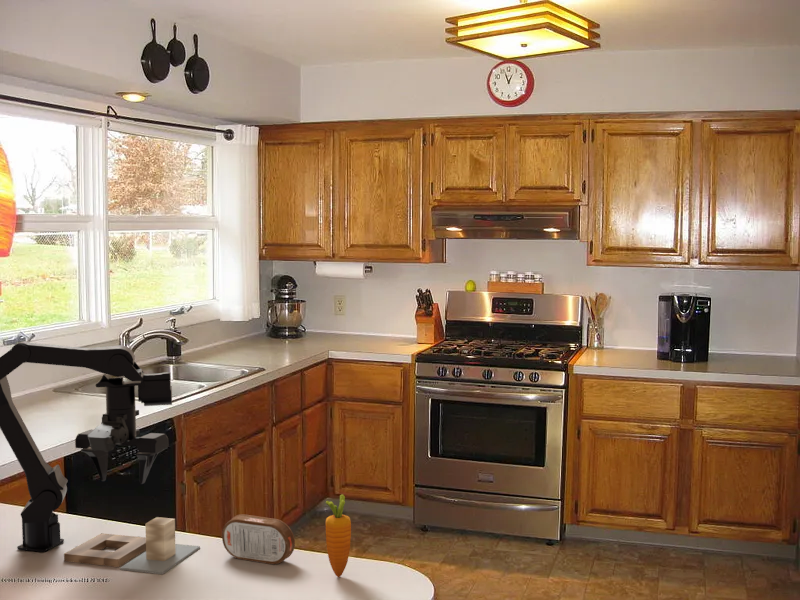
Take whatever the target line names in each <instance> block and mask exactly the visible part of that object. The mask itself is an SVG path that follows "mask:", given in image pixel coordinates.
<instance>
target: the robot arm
mask: <svg viewBox="0 0 800 600" xmlns="http://www.w3.org/2000/svg"><path fill="white" fill-rule="evenodd" d="M135 359H136V357H135V353H134V352H133V350H132V349H131V348H130V347H129V346H126V345H122V344H121V345H107V346H98V347H78V346H68V345H56V344H46V343H37V342H36V343H33V342H30V341H26V340H24V341H20V342H18V343H16V344H14V345H13V346H12V347H11V349H9V350H8V351H6V353H4V354H2V355H1V356H0V430H1V432H2V434H3V435H4V438H5V440H6V441H7V443H8V445H9V446H10V448H11V451H12V452H13V454H14V456H15V457H16V460H17V461H18V463H19V465H20V466H21V469H22V471H23V472H24V474H25V477H26V485H27V489H28V490H27V491H28V493H29V496H30V499H29V500H28V501H27V502H26V504H25V506H24V508H23V509H22V511H20V517H21V528H22V529H21V530H22V532H21V533H22V534H21V535H22V543H21V544H20V545H18V546H16V549H17V550H22V551H30V552H38V553H39V552H41V553H44V552H46V551H49V550H51V549H53V548H55V547H57V546H58V545H61V544H62V543H64V542H65V539H63V538H61V523H60V522H59V514H57V513H55V510H57V509H59V508H60V506H62V503H63V501H64V499H65V497H66V494H67V491H68V487H67V483H68V481H69V480H68V479H67V478H66V477H65V476H64V475H63V472H62V469H61V467H60V465H59V464H56V465H54V466H53V467H52V466H51V465H50V464H48V462H46V460H45V459H44V457H43V455H42V453H41V451H40V450H39V447H38V446H37V444H36V442H35V440H34V439H33V437H32V435H31V433H30V431H29V429H28V427H27V426H26V424H25V422H24V421H23V419H22V418H23V417H22V416H21V415H20V413H19V411H18V409H17V407H16V405H15V404H14V402H13V398H12V393H11V392H12V391H11V386H10V384H9V380H8V377H7V376H9V374H11V373H12V372H14V370H16V369H18V368H19V367H21V365H23V364H25V363H30V364H41V365H53V366H62V367H63V366H64V367H65V366H66V367H74V368H75V367H76V368H86V369H90V370H92V371H96V372H98V373H100V374H103V375H102V376H101V378H100V379H99V380H98V381H97V382H96V384H95V387H96V388H105V403H106V407H105V408H106V410H105V411H106V412H105V413H102V415H101V422H100V424H98V425H97V426H96V427H94V428H93V429H89V430H86V431H83V432H80V433H78V434H77V435H76V437H75V439H74V448H75V449H80V452H81V453H85V454H86V455H88V456H89V457H90V459H91V461H92V462H93V464H94V466H95V467H94V468H95V469H96V472H97V474H98V476H99V479H100V481H101V482H105V481H106V480H107V474H108V463H109V452H111V451H113V450H114V449H115V447H116V446H123V447H124V446H125V447H126V446H127V447H136V449H137V450H138V452H137V453H136V454H135V456H136V457H137V459H138V461H139V462H138V463H139V464H138V465H139V466H138V467H139V472H138V473H139V476H138V477H139V483H140V485H143V484H145V483H146V480H147V478H148V477H149V474H150V471H151V468H152V466H153V463H154V461H155V460H156V458H157V456H158V454H159V453H161V452H163V451H164V449H167V448H169V447H170V444H169V443H170V442H169V440H170V439H169V438H168V437H169V436H167V434H166V433H158V432H157V433H156V432H150V433H148V434H144V435H142V436H139V435H140V431H141V430H140V429H139V428H138V429H137V419H136V417H137V416H139V415H140V410H139V409H136V386H137V396H138V398H137V399H138V402H141V404H143V406H144V407H153V406H154V407H155V406H157V407H158V406H173V385H172V382H171V372H170V371H167V372H166V371H163V372H160V373H145V371H144V370H143V368H141V367H140V366H139V364H137V362H136V361H135ZM108 375H109V376H108ZM110 376H113V377H110ZM124 378H125V379H127V380H124Z"/></svg>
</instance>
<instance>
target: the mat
mask: <svg viewBox="0 0 800 600" xmlns="http://www.w3.org/2000/svg"><path fill="white" fill-rule="evenodd" d="M199 549H201V546H199V545H189V544H180V543H175V550H176V554H175V555H173V556H172V557H170V558H169V559H167V560H166V561H159V560H149V559H146V551H144V552H142V553H140V554H139V555H137V556H136V557H134V558H132V559H131V560H129V561H128V562H126V563H124V564H123V565H121V566H120V567H119V570H121V571H130V572H138V573H139V572H140V573H148V574H156V575H164V574H165V573H167V572H168V571H170V570H171V569H172V568H174V567H175V566H177V565H178V564H179V563H182V561H184V560H186V559H187V558H188V557H189V556H191V555H192V554H194V553H195V552H197V551H198V550H199Z"/></svg>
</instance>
